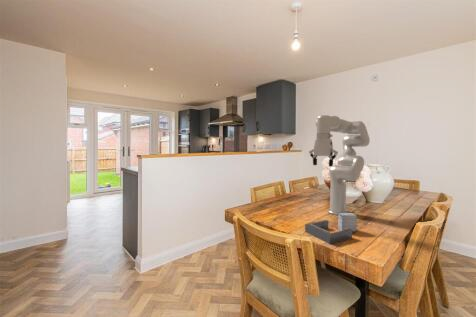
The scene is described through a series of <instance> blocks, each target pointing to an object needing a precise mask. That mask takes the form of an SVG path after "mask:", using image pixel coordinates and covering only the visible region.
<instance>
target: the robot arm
mask: <svg viewBox="0 0 476 317" xmlns="http://www.w3.org/2000/svg"><path fill="white" fill-rule="evenodd" d="M315 126H316V138H315V140H314V146H313V149H311V150H309V152H308V153H309V156H310V157H311V158H312V165H313V166H317V165H318V159H317V158H318V157H328V158H329V160H328V166H329V171H328V175H329V180H330V181H329V182H330V190H329V191H330V192H329V194H330V196H329V208H328V209H327V213H329V214H331V215H335V216H338V214H339V213H349V211H348V210H349V209H351V206H350V205H347V204H346V203H347V185H346V183H345V181H347V182H348V181H349V182H356V181H357V180H358V178H359V176H360V175H361V173H362V171H363V169H364V167H365V159H364V157H363V156H361V155H357V152H356V150H355V148H356V147H358V148H359V147H360V148H363V147H367V146H369V144H370V141H371V140H370V135H369V133H368V128H367V126H366V125H365V123H364V122H363V121H361V120H359V121H350V120H349V121H348V120H345V119H343V118H340V117H339V116H337V115H318V116H317V117H316V120H315ZM331 132H332V133H341V134H344V137H343V139H342V149H343V151H342V154H340V156H339V158H338V161H337V164H336V165H334V160H335V158H337V155H338V154H339V151H337V150H335V149H334V145H333V140H332V137H333V134H331Z"/></svg>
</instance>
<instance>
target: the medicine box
mask: <svg viewBox="0 0 476 317" xmlns="http://www.w3.org/2000/svg"><path fill="white" fill-rule="evenodd" d="M337 217H338V219H337V229H338V230H339V231H343V230H347V229H351V230H352V232H357V227H358V226H357V224H358V223H357V221H358V216H357V215H356V214H355V213H352V212H348V213H339V214H338V215H337Z"/></svg>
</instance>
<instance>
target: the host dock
mask: <svg viewBox="0 0 476 317" xmlns="http://www.w3.org/2000/svg"><path fill="white" fill-rule="evenodd" d="M327 229H329V220H327V219H325V220H321V221H320V220H319V221H314V222H310V223H306V224H304V233H306V234H309V235H310V236H313V237H315V238H317V239H318V240H321V241H323V242H324V243H327V244H329V245H330V244H335V243H338V242H341V241H347V240H351V239H353V231H352V230H351V229H347V230H343V231H340V230H339V231H336V232H331V231H328V230H327Z"/></svg>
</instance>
